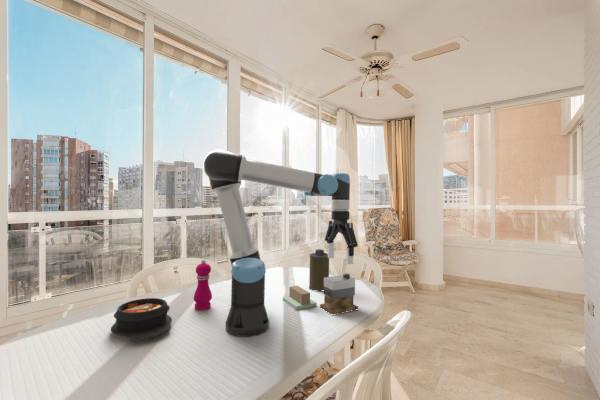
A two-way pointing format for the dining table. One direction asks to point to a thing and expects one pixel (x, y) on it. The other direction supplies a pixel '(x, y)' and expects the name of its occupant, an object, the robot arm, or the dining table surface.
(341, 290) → the base plate
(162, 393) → the dining table surface
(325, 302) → the stand
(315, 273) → the canister
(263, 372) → the dining table surface
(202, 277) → the pepper mill
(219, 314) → the dining table surface
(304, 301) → the stand
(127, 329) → the casserole
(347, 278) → the cover plate
